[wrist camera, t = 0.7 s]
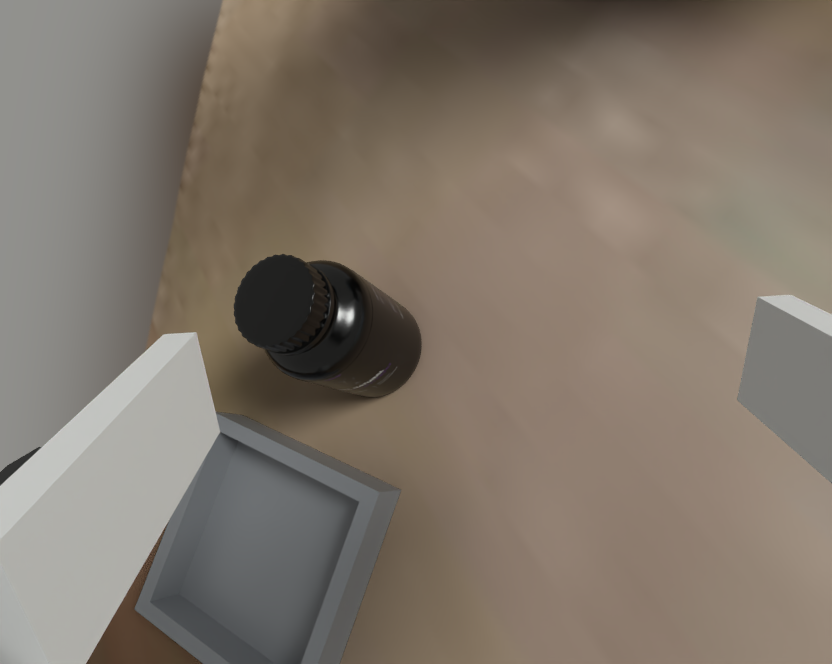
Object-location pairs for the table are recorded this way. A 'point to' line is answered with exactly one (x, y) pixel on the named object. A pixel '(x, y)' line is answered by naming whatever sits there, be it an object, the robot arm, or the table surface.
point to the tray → (267, 551)
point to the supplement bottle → (327, 325)
